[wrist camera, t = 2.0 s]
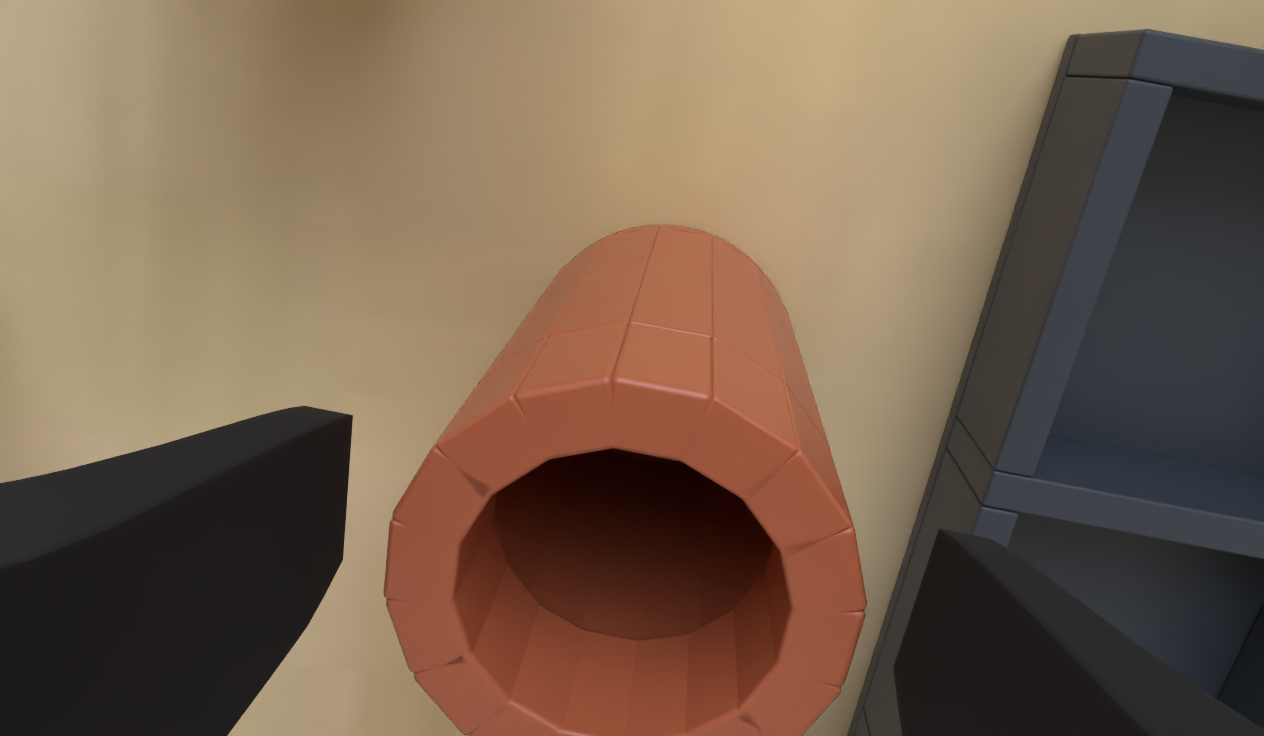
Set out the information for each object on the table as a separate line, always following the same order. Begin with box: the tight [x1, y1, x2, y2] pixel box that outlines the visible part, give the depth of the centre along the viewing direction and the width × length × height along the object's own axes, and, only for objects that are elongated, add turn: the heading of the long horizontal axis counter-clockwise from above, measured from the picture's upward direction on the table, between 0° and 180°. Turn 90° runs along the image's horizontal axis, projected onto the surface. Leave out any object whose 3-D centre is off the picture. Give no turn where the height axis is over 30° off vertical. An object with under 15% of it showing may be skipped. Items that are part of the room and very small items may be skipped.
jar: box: [384, 225, 867, 736], centre depth 14 cm, size 5×5×9 cm
